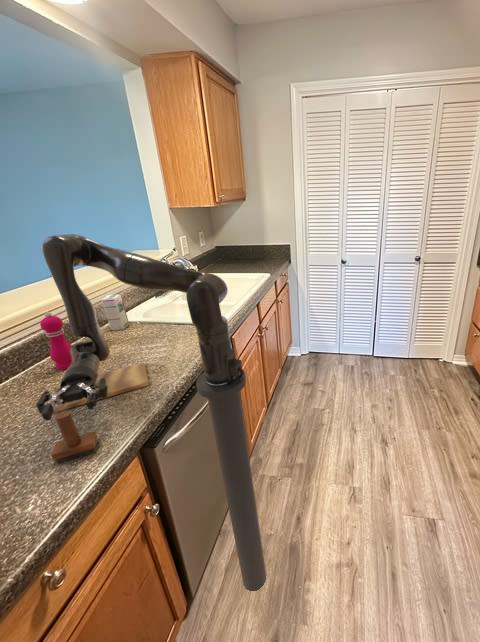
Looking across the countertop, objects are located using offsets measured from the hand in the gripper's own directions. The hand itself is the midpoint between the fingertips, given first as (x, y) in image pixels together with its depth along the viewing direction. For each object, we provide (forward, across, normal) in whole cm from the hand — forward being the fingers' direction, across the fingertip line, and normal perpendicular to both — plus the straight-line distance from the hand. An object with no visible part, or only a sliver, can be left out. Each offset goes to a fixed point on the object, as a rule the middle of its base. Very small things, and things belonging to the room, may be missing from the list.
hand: (68, 411), depth 75 cm
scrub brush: (+4, 0, +9) cm, 10 cm away
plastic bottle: (-61, -4, +9) cm, 62 cm away
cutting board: (-25, +3, +9) cm, 26 cm away
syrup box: (-75, +4, +9) cm, 76 cm away
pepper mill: (-47, -11, +9) cm, 49 cm away
